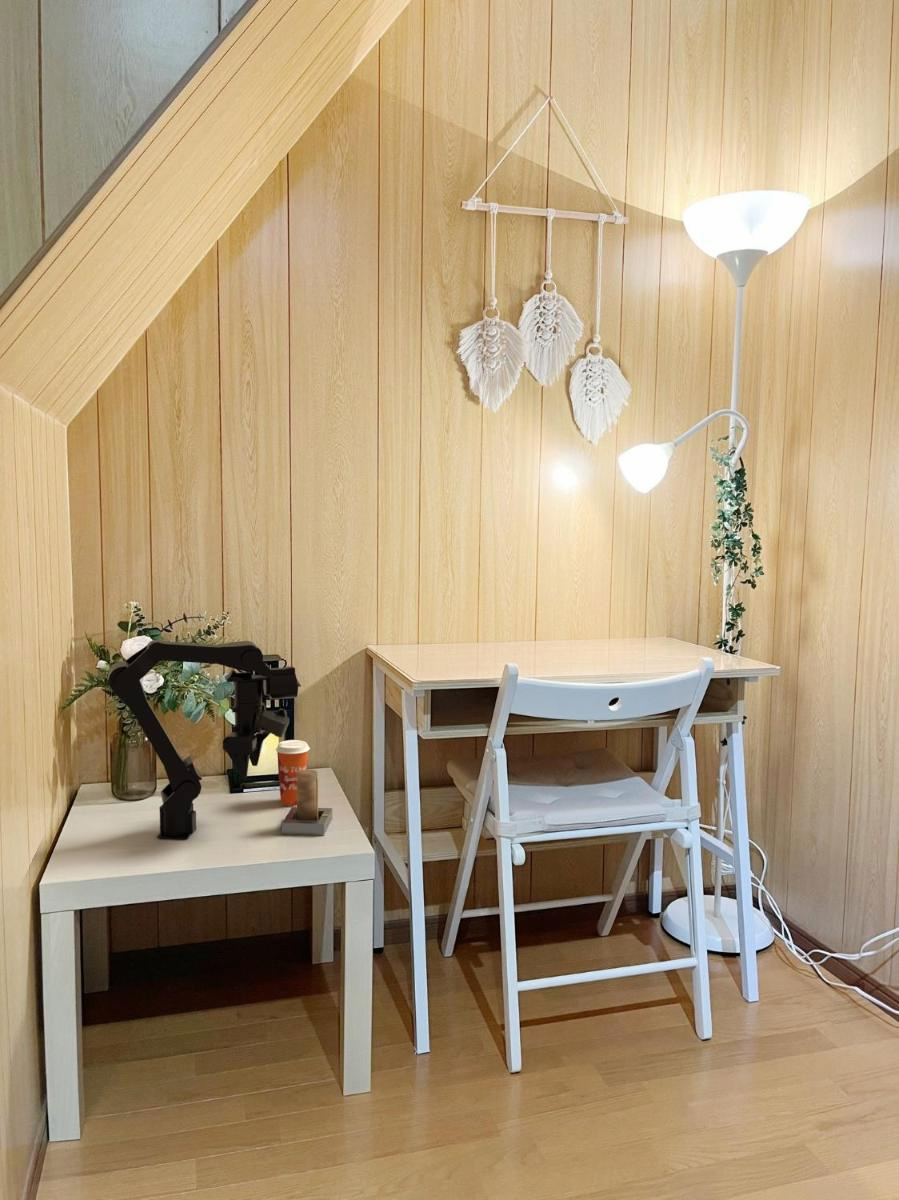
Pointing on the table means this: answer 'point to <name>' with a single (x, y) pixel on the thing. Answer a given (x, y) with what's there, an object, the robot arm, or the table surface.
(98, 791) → the table surface
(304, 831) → the grey square socket base
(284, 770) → the paper cup
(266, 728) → the robot arm
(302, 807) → the walnut peg
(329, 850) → the table surface
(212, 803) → the table surface
